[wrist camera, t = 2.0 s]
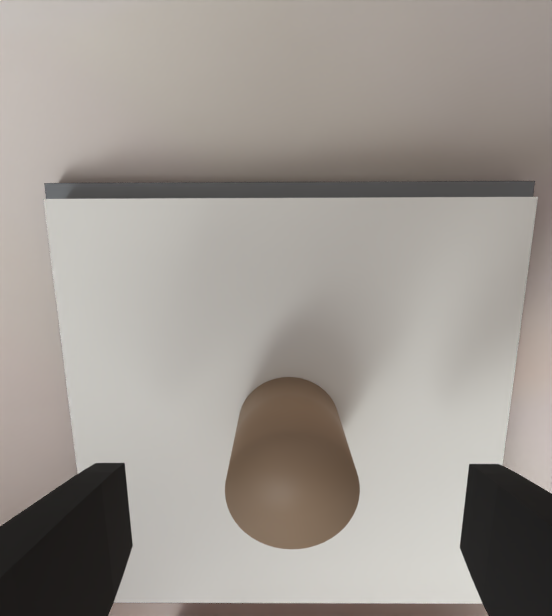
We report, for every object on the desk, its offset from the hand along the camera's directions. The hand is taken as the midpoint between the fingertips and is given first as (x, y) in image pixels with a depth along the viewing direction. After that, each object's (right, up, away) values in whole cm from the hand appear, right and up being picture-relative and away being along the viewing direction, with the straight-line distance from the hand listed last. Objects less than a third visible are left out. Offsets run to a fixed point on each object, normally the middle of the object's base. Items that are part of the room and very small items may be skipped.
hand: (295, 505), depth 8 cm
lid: (0, +1, +4) cm, 5 cm away
